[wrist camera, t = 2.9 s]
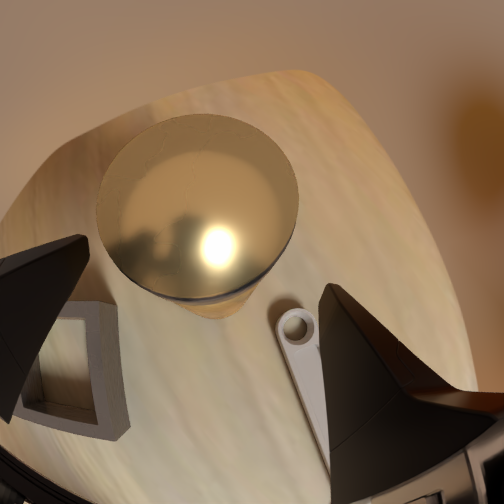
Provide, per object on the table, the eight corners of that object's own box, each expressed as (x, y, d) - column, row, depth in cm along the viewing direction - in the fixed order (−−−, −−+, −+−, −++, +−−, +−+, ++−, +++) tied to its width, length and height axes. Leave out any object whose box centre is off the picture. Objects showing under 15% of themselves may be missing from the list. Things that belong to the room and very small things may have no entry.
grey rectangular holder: (9, 400, 13) (-11, 404, 10) (1, 303, 15) (-21, 298, 12) (130, 427, 14) (115, 441, 11) (117, 305, 17) (98, 300, 14)
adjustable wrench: (266, 316, 18) (271, 314, 16) (348, 292, 19) (359, 288, 18) (329, 546, 12) (335, 556, 10) (388, 519, 13) (397, 526, 11)
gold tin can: (218, 335, 17) (200, 349, 5) (163, 285, 17) (63, 204, 6) (266, 279, 18) (338, 185, 6) (211, 233, 19) (196, 90, 7)
